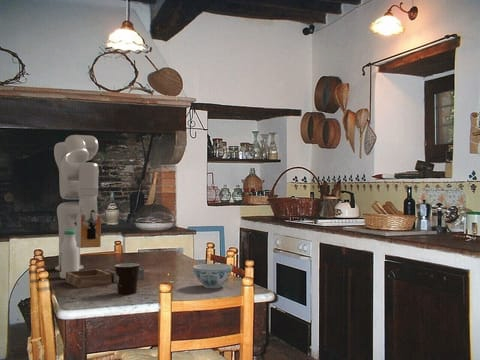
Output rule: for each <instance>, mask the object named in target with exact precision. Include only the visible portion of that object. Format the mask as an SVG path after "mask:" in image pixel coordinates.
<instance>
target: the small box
mask: <svg viewBox="0 0 480 360" xmlns="http://www.w3.org/2000/svg"><path fill="white" fill-rule="evenodd" d="M89 221H92V219H89ZM101 223H102V215H101V214H99V213H97V221H96V238H95V239H87V229H88V220H87V222H84V215H77V222H76V226H77V229H76V247H79V248H80V249H86V248H87V249H88V248H101V242H102V241H101V239H102V238H101V237H102V236H101V235H102V234H101V233H102V231H101V230H102V227H101V226H102V225H101ZM90 224H91V223H90Z"/></svg>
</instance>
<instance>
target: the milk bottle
mask: <svg viewBox="0 0 480 360" xmlns="http://www.w3.org/2000/svg"><path fill="white" fill-rule="evenodd" d="M72 271H80V270H79V249H78V247H76V241H75V231H74V230H66V231H64V241H63V244H62V246H61V249H60V271H59V278H60V279H65V280H66V272H72Z"/></svg>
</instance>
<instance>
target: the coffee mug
mask: <svg viewBox="0 0 480 360" xmlns="http://www.w3.org/2000/svg"><path fill="white" fill-rule="evenodd" d="M114 268H115V271H116V279H117V283H116V286H117V287H116V289H117V294H118V295H120V294H121V295H122V296H126V295H127V296H128V295H130V294H131V295H135V294H137V288H138V282H139V280H138V273H139V268H140V264H139V263H131V262H130V263H118V264H115V265H114ZM121 295H120V296H121ZM131 295H130V296H131Z"/></svg>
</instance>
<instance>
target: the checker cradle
mask: <svg viewBox="0 0 480 360" xmlns="http://www.w3.org/2000/svg"><path fill="white" fill-rule="evenodd" d="M103 271H104V272H107V273H110V274H111V283H115V282H117V279H116V271H115V267H114V268H105V269H103ZM141 280H145V271H144V269H142V268H140V267H139V273H138V281H141Z"/></svg>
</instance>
